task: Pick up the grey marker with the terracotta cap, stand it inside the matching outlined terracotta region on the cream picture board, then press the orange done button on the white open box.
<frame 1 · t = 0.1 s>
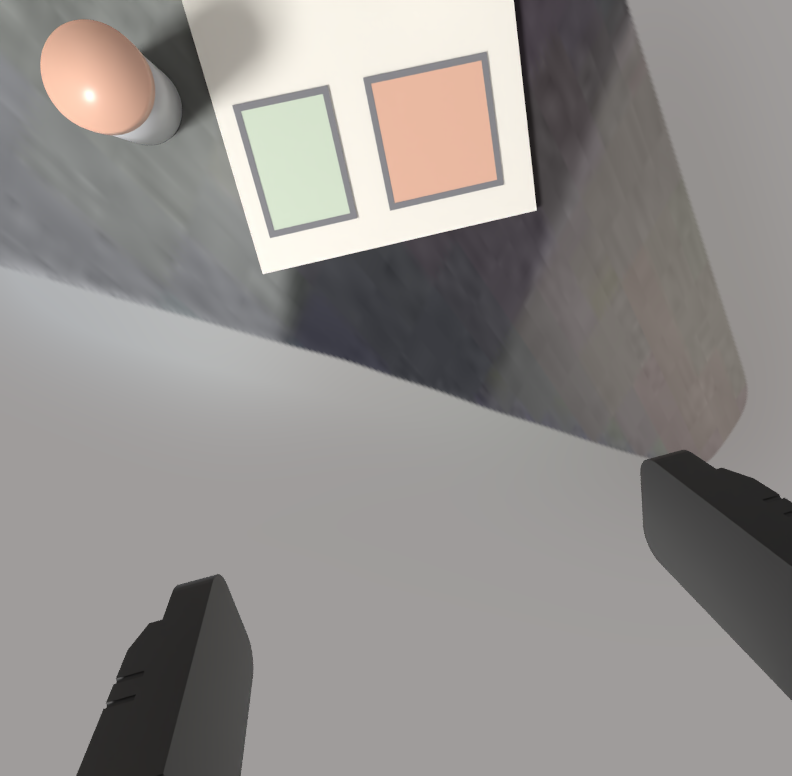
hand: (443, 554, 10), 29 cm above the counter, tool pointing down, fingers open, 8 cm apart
marker: (143, 104, 32), on the counter
picture board: (375, 112, 34), on the counter
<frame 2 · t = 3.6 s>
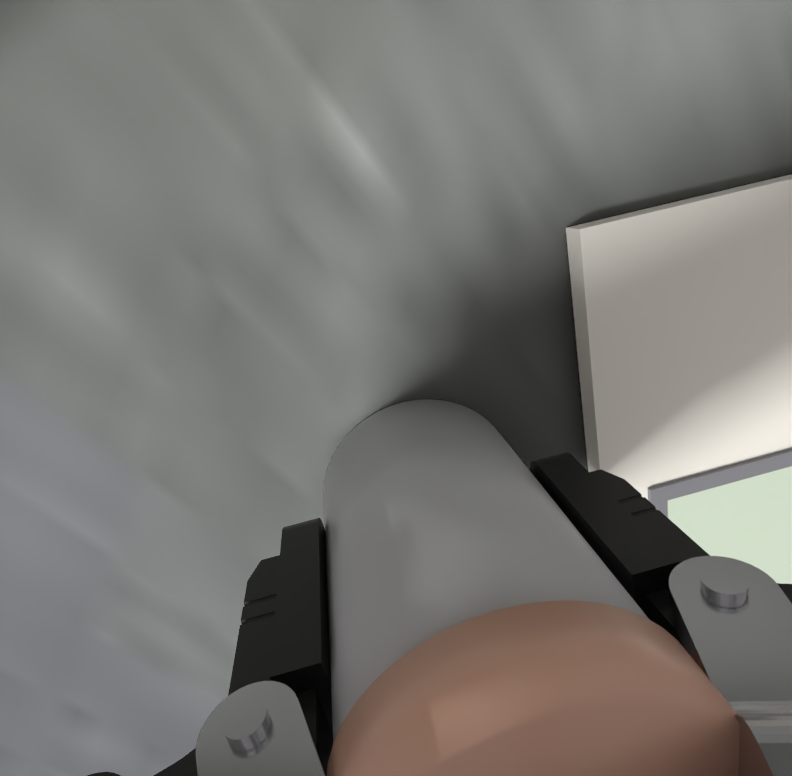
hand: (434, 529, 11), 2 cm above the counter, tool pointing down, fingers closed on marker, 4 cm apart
marker: (420, 489, 12), on the counter, touching gripper
when the fingers open (4 cm above the counter, at t = 8.9 s): marker drops 1 cm, resting on picture board.
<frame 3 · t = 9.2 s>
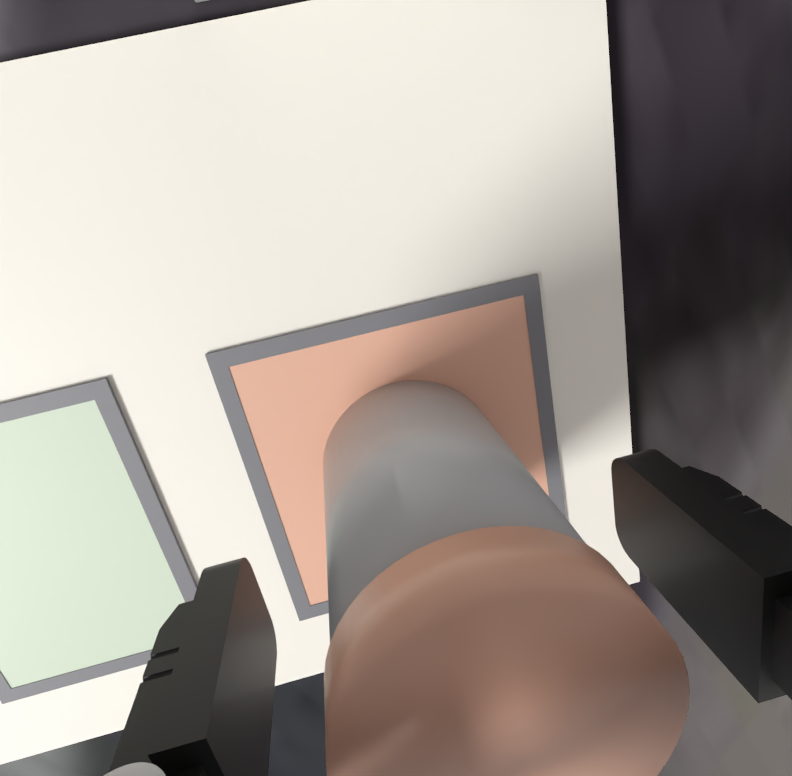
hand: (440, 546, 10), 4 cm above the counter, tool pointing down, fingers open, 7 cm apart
marker: (410, 462, 14), point 1 cm above the counter, touching picture board
picture board: (251, 414, 13), on the counter
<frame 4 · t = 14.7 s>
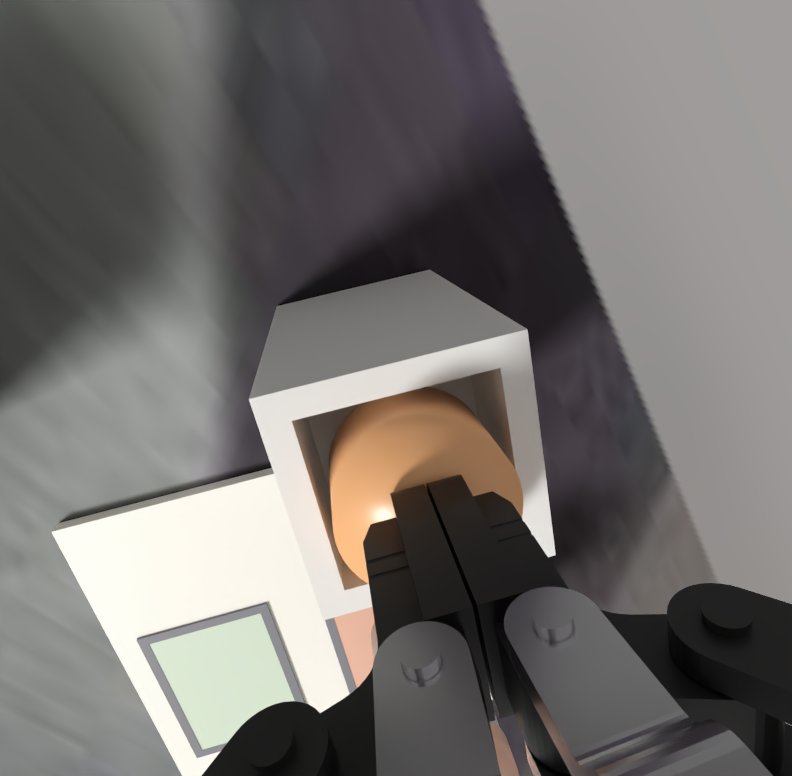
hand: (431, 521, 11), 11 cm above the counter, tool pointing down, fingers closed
marker: (416, 631, 26), point 1 cm above the counter, touching picture board
picture board: (333, 609, 25), on the counter
white open box: (371, 360, 22), on the counter
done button: (418, 486, 12), point 10 cm above the counter, slide at 0.2 cm, touching gripper
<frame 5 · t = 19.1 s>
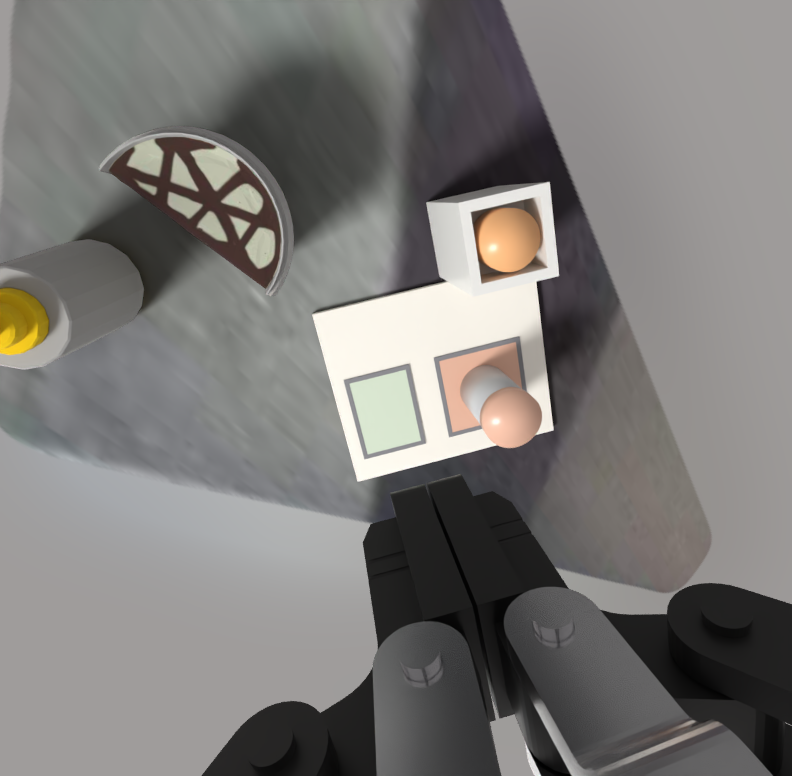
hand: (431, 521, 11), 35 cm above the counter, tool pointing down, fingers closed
marker: (483, 388, 48), point 1 cm above the counter, touching picture board
soap bottle: (101, 283, 41), on the counter
picture board: (440, 374, 48), on the counter
white open box: (468, 232, 44), on the counter
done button: (504, 239, 36), point 9 cm above the counter, slide at 1.5 cm
food container: (239, 195, 41), on the counter
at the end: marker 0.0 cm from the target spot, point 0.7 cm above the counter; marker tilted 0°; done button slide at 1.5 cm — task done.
